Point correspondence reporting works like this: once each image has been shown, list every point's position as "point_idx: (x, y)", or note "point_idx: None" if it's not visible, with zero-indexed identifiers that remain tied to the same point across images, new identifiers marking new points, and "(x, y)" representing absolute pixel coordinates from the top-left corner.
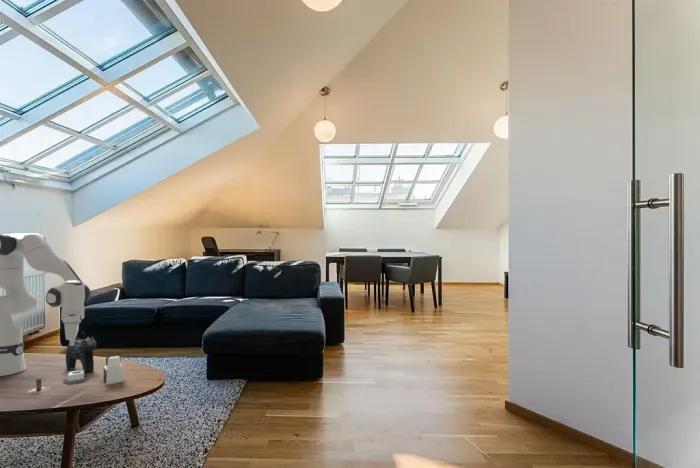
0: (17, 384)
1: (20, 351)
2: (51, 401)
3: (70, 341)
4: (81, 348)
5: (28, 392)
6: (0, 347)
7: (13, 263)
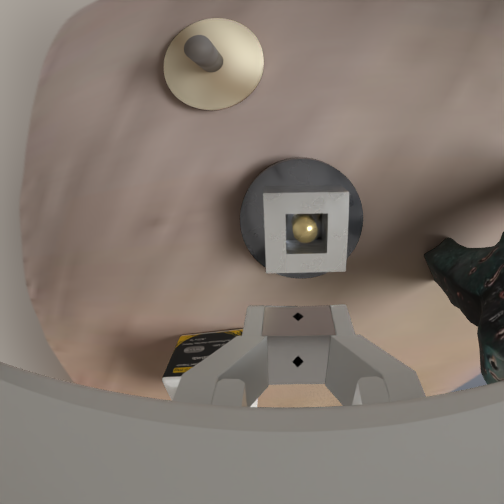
0: None
1: None
2: (67, 154)
3: (229, 352)
4: None
5: (199, 25)
6: None
7: None
